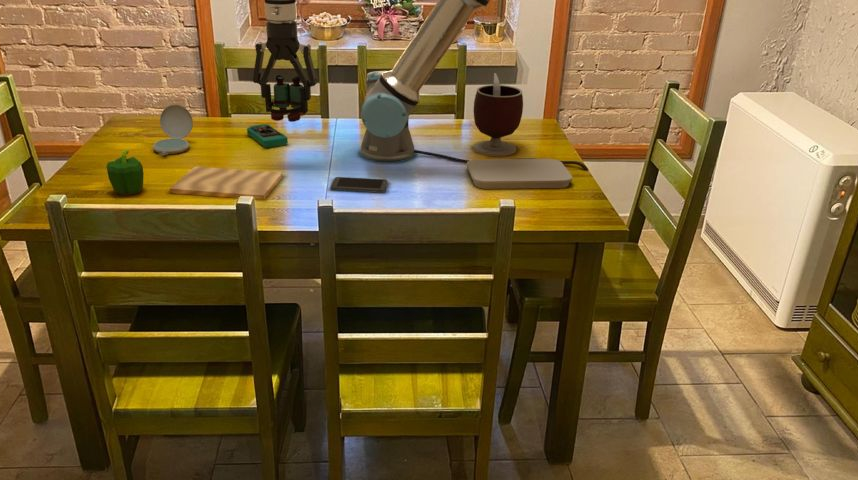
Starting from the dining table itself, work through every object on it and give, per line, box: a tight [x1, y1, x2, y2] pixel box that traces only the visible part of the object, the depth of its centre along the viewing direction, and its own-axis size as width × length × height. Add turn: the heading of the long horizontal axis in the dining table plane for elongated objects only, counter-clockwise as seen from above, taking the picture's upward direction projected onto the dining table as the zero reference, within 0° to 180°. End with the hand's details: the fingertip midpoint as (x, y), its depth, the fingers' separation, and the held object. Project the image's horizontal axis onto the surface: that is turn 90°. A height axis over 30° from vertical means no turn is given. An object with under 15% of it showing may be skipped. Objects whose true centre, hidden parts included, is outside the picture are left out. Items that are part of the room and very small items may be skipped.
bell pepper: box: [106, 149, 145, 195], centre depth 179 cm, size 8×8×10 cm
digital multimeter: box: [246, 123, 289, 149], centre depth 217 cm, size 7×15×3 cm, turn 31°
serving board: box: [169, 165, 284, 201], centre depth 186 cm, size 24×16×1 cm, turn 82°
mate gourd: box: [473, 72, 524, 157], centre depth 211 cm, size 16×14×20 cm
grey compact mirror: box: [152, 104, 194, 156], centre depth 207 cm, size 10×11×15 cm
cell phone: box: [330, 176, 389, 193], centre depth 187 cm, size 7×14×1 cm, turn 85°
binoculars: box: [267, 74, 306, 123], centre depth 189 cm, size 9×11×10 cm
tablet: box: [466, 158, 573, 190], centre depth 194 cm, size 16×26×2 cm, turn 94°
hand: (287, 111), depth 191 cm, fingers closed on binoculars, 9 cm apart
